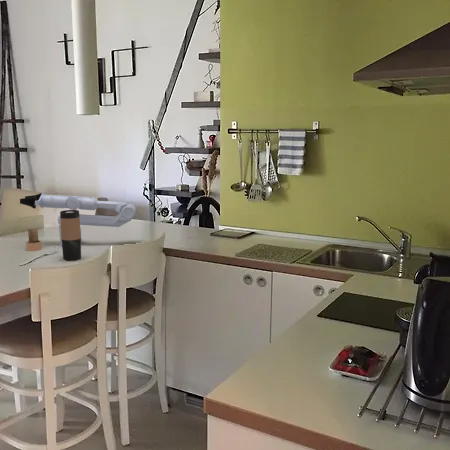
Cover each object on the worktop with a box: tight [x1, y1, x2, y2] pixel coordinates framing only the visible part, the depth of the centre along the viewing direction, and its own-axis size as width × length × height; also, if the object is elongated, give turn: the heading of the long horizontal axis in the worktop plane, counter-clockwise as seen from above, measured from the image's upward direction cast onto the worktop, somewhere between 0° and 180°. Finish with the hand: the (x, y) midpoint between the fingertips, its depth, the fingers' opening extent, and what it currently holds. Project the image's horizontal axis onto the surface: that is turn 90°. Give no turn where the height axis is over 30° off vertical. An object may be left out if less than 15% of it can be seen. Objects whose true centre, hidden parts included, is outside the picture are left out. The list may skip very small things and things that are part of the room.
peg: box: [27, 228, 40, 243], centre depth 237 cm, size 4×4×9 cm
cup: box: [25, 239, 43, 252], centre depth 237 cm, size 6×6×4 cm
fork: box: [19, 246, 60, 266], centre depth 223 cm, size 3×24×2 cm, turn 162°
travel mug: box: [59, 209, 82, 262], centre depth 220 cm, size 8×8×20 cm
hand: (22, 199), depth 242 cm, fingers open, 7 cm apart
